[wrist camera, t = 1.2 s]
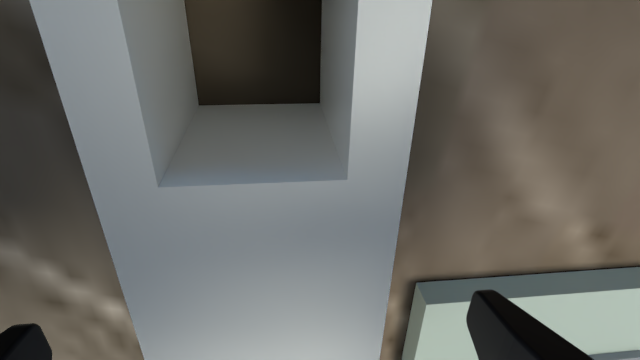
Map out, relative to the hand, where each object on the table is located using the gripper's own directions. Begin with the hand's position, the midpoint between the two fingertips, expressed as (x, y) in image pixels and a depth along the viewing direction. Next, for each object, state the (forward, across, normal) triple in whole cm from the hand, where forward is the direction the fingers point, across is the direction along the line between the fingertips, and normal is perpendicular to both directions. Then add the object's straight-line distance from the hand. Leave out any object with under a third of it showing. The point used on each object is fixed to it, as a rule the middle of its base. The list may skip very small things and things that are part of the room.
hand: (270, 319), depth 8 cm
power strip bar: (+4, 0, 0) cm, 4 cm away
